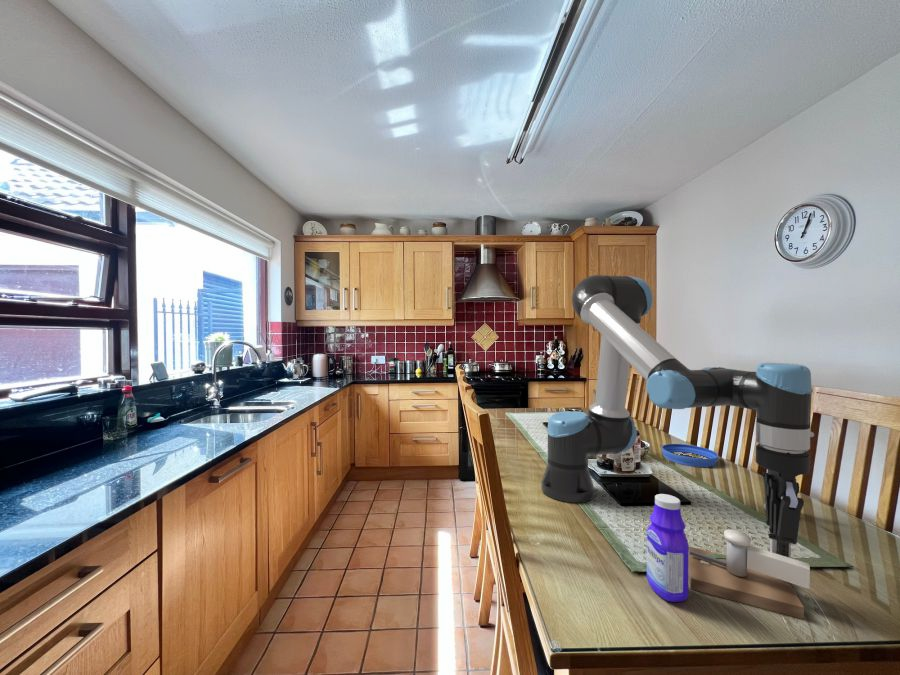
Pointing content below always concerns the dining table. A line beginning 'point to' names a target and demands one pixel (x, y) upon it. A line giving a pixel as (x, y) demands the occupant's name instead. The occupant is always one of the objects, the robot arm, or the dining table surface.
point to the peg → (759, 560)
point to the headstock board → (742, 585)
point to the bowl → (688, 459)
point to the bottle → (667, 550)
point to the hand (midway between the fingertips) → (779, 572)
